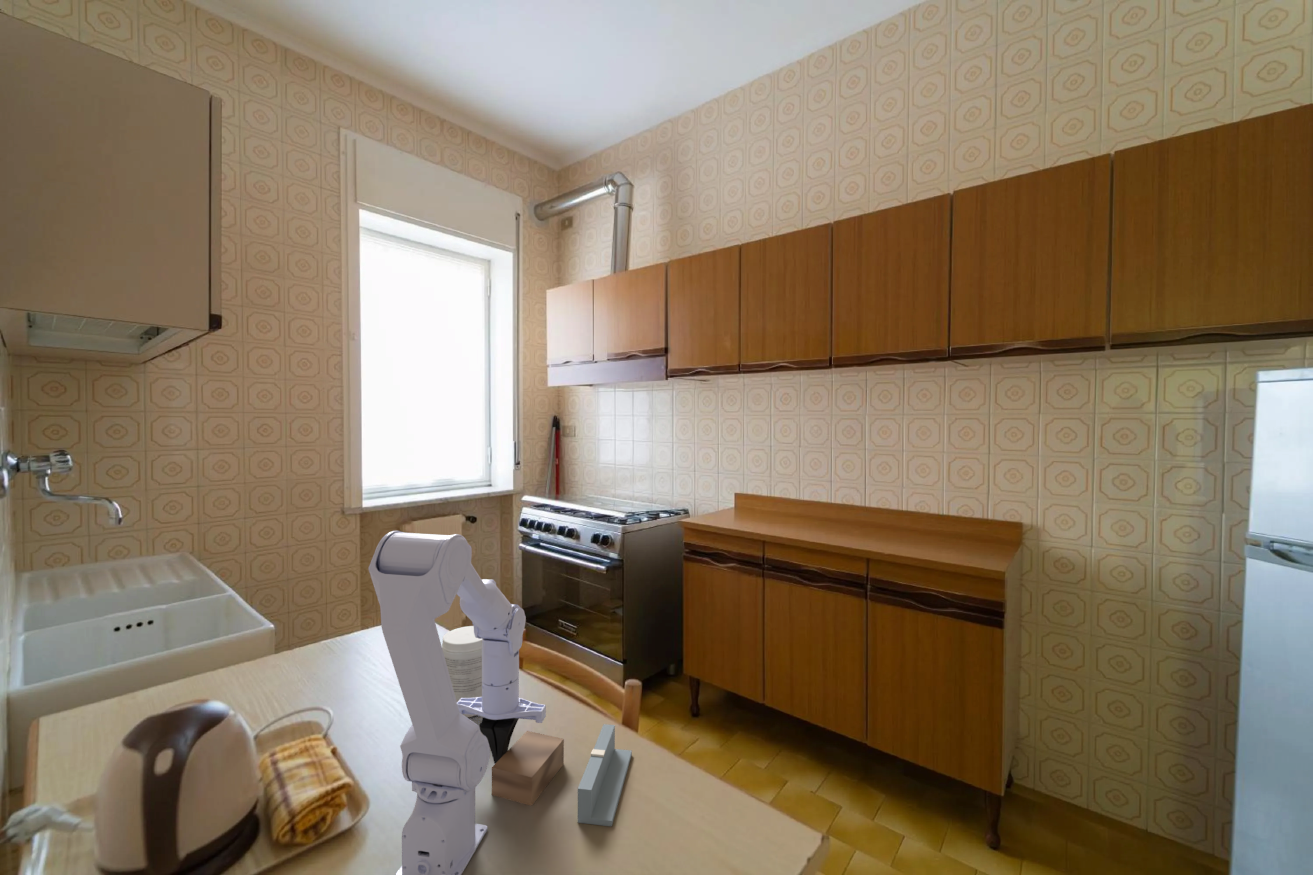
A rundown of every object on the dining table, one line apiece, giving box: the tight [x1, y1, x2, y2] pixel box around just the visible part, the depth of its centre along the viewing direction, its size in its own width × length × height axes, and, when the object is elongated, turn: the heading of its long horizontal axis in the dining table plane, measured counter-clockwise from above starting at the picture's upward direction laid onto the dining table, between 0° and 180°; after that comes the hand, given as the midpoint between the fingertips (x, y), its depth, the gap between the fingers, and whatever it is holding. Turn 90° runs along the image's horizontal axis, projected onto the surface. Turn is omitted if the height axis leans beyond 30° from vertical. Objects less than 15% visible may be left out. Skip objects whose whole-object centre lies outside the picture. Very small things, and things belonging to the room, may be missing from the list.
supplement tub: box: [441, 625, 483, 719], centre depth 105 cm, size 10×10×15 cm
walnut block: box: [491, 730, 565, 807], centre depth 84 cm, size 10×7×4 cm
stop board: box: [577, 723, 633, 827], centre depth 83 cm, size 16×5×5 cm, turn 172°
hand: (500, 759), depth 85 cm, fingers closed
